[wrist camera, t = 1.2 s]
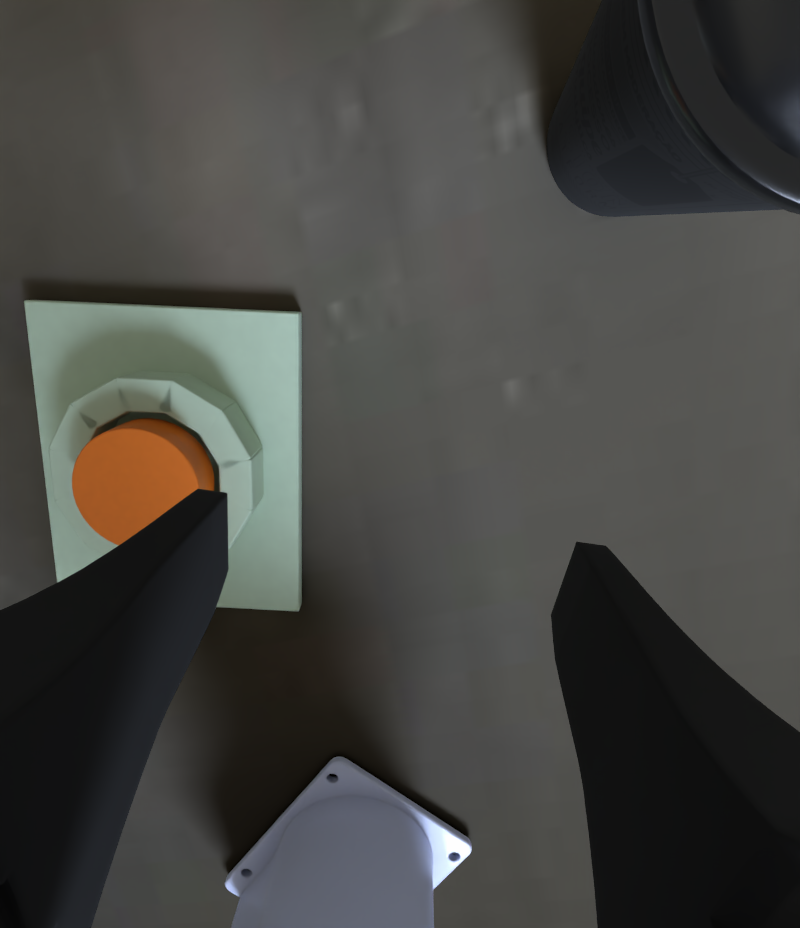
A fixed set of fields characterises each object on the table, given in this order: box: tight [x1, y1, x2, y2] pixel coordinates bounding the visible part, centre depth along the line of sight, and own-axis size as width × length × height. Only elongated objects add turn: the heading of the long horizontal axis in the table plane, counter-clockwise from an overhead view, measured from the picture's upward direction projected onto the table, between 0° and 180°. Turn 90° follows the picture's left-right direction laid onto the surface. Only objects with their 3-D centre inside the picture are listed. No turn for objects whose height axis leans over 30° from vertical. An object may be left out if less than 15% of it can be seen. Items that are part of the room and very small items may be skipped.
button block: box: [24, 300, 302, 611], centre depth 24 cm, size 12×10×2 cm
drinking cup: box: [547, 0, 800, 217], centre depth 12 cm, size 8×8×20 cm
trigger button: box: [72, 418, 214, 545], centre depth 22 cm, size 4×4×2 cm
